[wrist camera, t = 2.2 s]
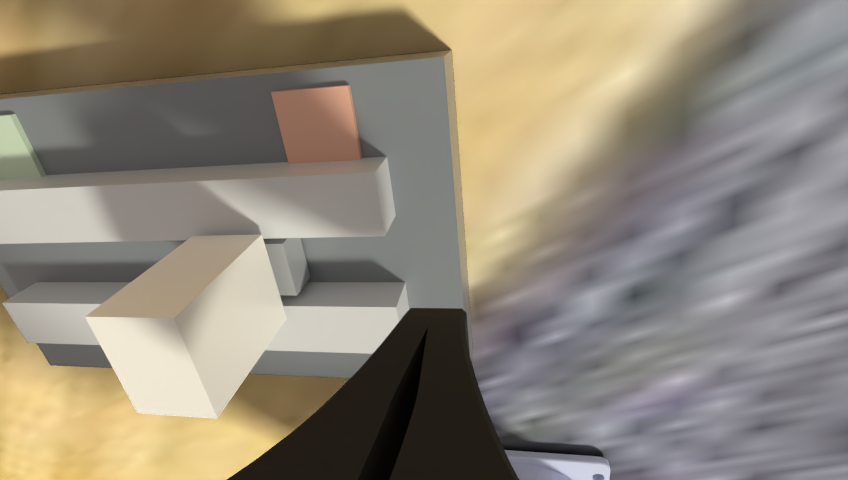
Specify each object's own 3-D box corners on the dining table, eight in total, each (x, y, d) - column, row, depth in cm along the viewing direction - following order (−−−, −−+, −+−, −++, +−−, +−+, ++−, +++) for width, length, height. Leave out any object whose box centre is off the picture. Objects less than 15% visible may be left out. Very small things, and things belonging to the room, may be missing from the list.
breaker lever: (293, 211, 15) (185, 318, 10) (313, 290, 17) (228, 419, 12) (214, 214, 16) (73, 316, 11) (240, 290, 17) (127, 412, 12)
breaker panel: (451, 49, 14) (436, 63, 11) (472, 348, 20) (466, 413, 16) (-50, 99, 18) (-164, 119, 15) (84, 338, 23) (21, 388, 20)
